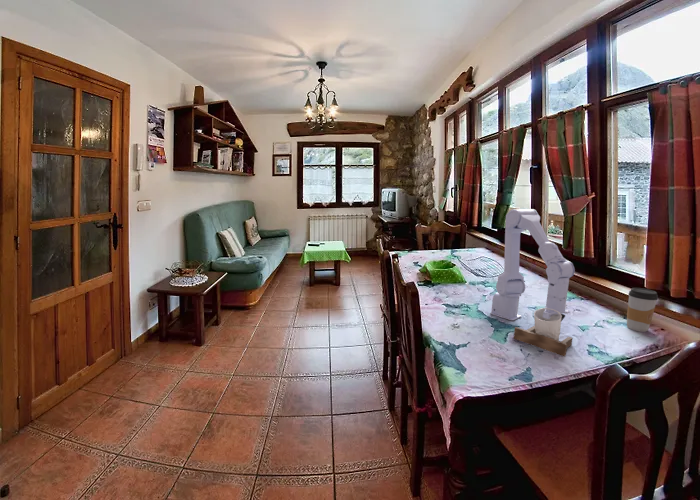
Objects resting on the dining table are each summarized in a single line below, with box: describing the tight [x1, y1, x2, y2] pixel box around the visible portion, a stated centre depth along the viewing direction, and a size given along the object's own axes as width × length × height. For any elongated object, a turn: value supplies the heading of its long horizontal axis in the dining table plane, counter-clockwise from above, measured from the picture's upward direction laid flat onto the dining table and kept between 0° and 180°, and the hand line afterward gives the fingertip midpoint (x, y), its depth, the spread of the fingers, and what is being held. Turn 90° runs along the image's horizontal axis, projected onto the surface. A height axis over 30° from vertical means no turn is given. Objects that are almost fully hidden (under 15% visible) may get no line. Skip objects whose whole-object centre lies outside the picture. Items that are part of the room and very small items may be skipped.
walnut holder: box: [513, 325, 573, 357], centre depth 114 cm, size 16×11×4 cm
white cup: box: [533, 307, 562, 341], centre depth 113 cm, size 8×8×10 cm
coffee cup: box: [626, 287, 659, 333], centre depth 126 cm, size 8×8×15 cm
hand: (552, 333), depth 117 cm, fingers closed, pressing on white cup
